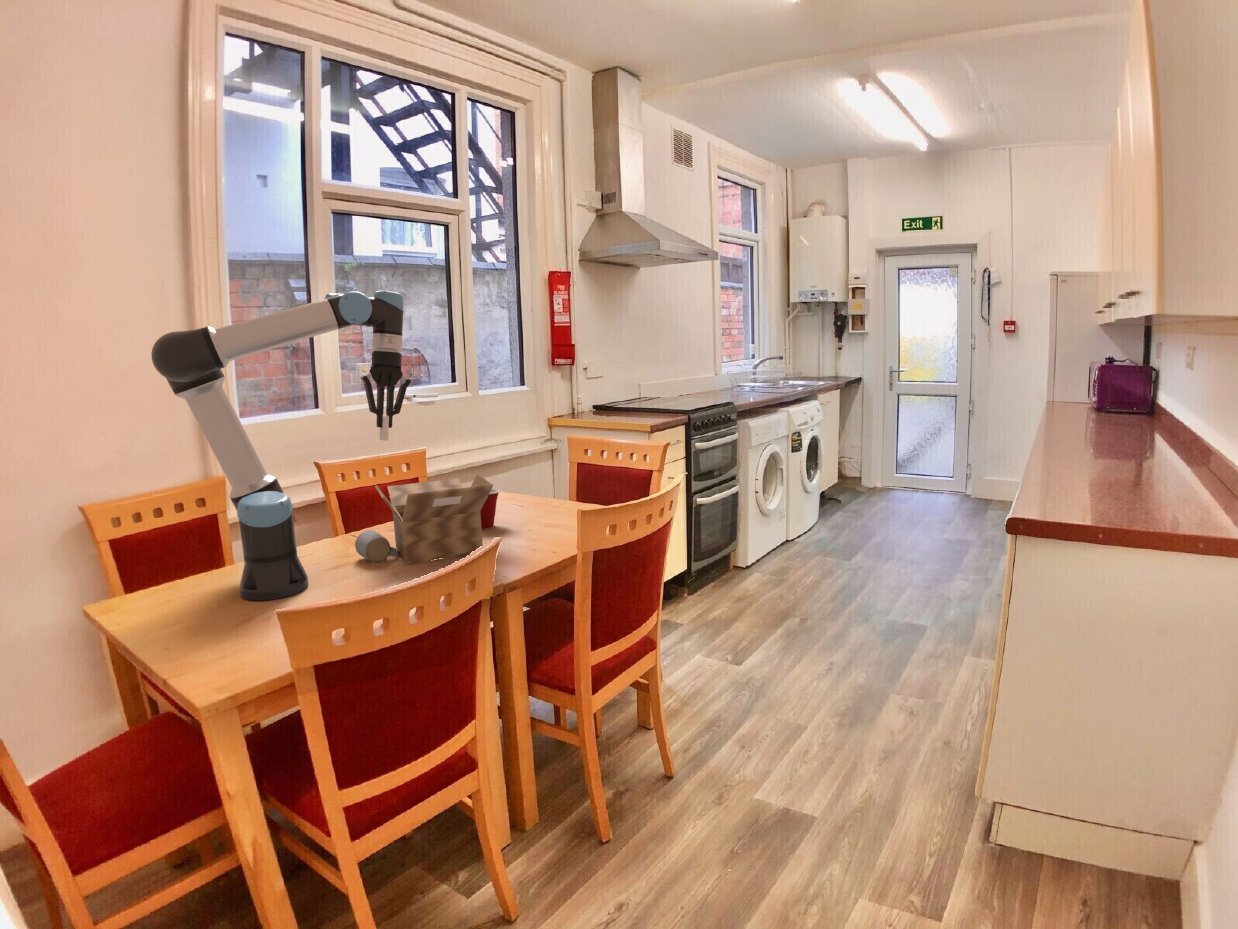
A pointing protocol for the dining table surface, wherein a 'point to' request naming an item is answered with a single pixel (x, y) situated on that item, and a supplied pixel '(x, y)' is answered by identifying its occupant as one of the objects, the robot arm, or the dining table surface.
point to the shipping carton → (434, 525)
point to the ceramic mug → (374, 546)
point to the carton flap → (444, 503)
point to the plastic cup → (489, 509)
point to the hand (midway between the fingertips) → (383, 440)
